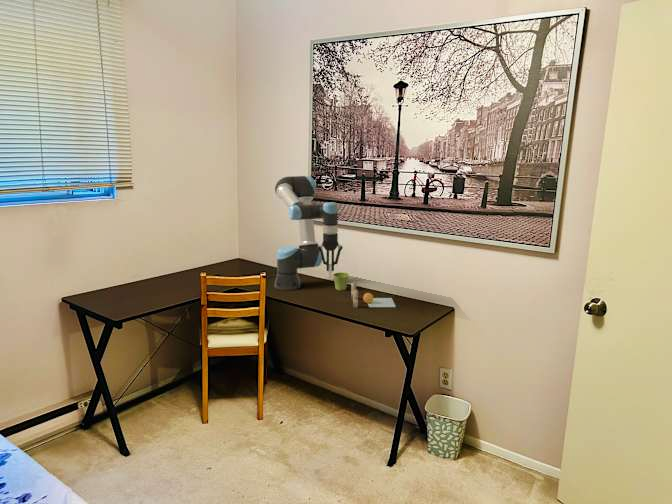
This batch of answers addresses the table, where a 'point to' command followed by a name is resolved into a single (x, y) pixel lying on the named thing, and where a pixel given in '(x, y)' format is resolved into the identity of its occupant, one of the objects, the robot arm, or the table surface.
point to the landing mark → (382, 302)
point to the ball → (368, 297)
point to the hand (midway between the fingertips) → (330, 277)
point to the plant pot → (340, 280)
